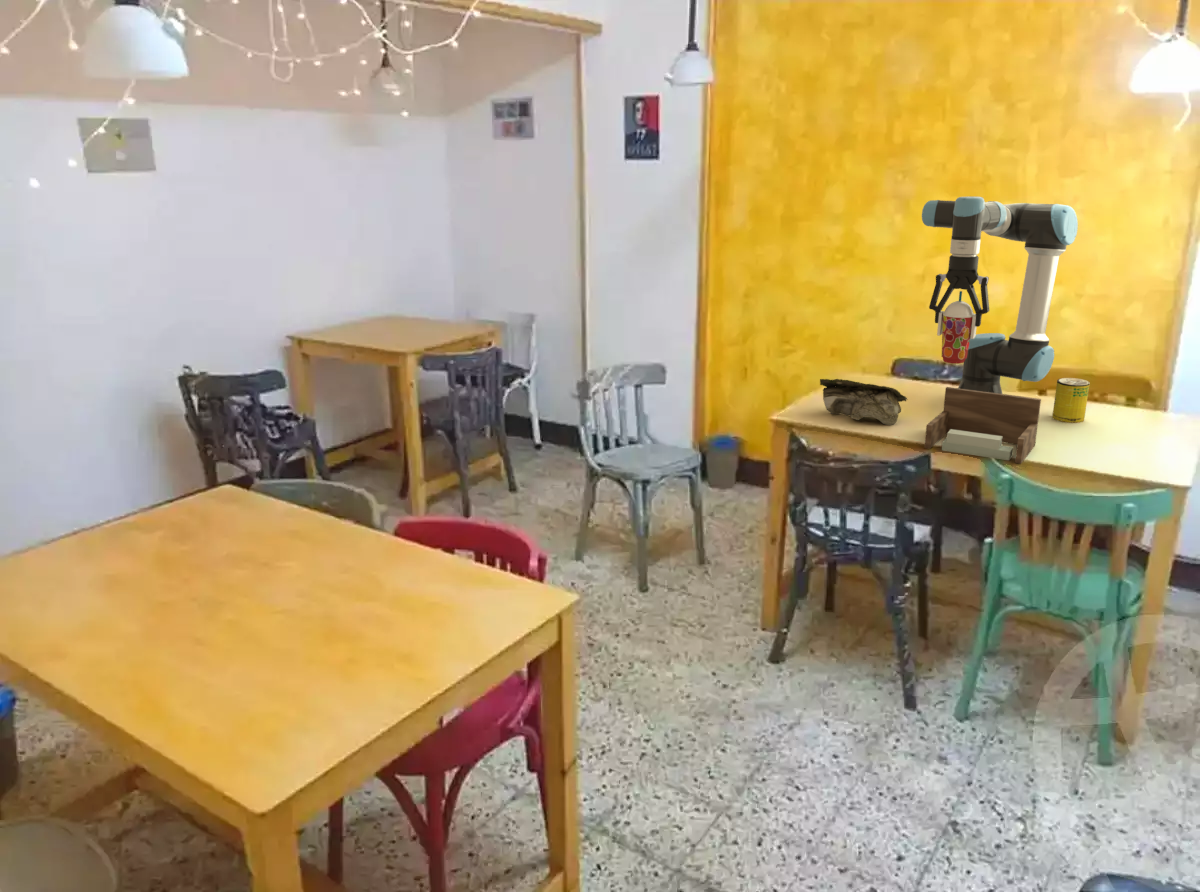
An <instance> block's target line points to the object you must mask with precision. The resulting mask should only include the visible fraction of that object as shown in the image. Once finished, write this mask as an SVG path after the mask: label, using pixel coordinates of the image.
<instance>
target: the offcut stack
mask: <svg viewBox="0 0 1200 892" xmlns="http://www.w3.org/2000/svg"><path fill="white" fill-rule="evenodd" d="M1002 438H1003V436H997V435H989V434H982V433H975V432H968V431H961V430H953V429H950V430H949V432H948V433H947V434H946V438H945V439H944V440H943V441H942V445H941V451H943V452H949V453H957V454H963V455H971V456H978V457H984V458H989V459H990V458H992V459H998V460H1005V461H1010V460H1011V458H1012V457H1013V453H1014V451H1013V450H1014V446H1007V445H1003V442H1002Z"/></svg>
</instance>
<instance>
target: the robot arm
mask: <svg viewBox="0 0 1200 892" xmlns="http://www.w3.org/2000/svg"><path fill="white" fill-rule="evenodd" d="M921 221H922V223H923V224H924V225H925V226H926V227H932V228H942V229H943V228H944V229H945V228H946V229H952V231H951V239H950V249H949V253H950V254H951V255H950V256H948V257H949V259H948V270H947V272H946V273H943V274H942V273H938V274H937V275H935V286H934V289H933V293H932V296H931V300H930V303H929V306H928V308H929V310H933V311H934V313H935V314H934V316H935V317H934V323H935V324H937V332H936V333H937V334H936V335H937V336H939V337H941V336H942V329H943V312H945V310H944V311H943V308H944V307H945V306H946V303H947V302H948V300H949V299H950V297H951V295H952V293H953V291H954V290H959V289H961V290H966V292H967V294H968V296H969V299H970V302H971V304H972V307H973V309H974V310H973V311H974V312H975V313H974V315H973V318H972V328H971V336H970V342H969V348H968V354H967V358H966V359H965V361H964V362H963V363H962V364H963V366H962V376H961V381H960V383H959V384H958V387H957V388H960V389H968V390H975V391H983V392H991V393H999V394H1003V391H1002V386H1001V377H1004V378H1008V379H1016V380H1019V381H1020V380H1021V381H1022V382H1026V381H1027V382H1034V383H1037V382H1040V381H1042V380H1043V379H1044V378H1045V377H1046V376H1047V375H1048V374H1049V372H1050V370H1051V368H1052V367H1053V366H1052V365H1053V363H1054V359H1055V349H1054V348H1053V347H1052V346H1051V345H1050V344H1049V343H1050V339H1049V337H1048V336H1047V335H1046V331H1047V324H1048V320H1049V313H1050V308H1051V305H1052V304H1051V303H1052V299H1053V298H1052V297H1053V293H1054V288H1055V287H1054V286H1055V281H1056V275H1057V270H1058V264H1059V258H1060V256H1061V255H1063V254H1064V253H1065V252H1066V250H1067V246H1070V245H1071V244H1073V243H1074V242H1075V239H1076V238H1077V234H1078V226H1079V225H1078V222H1079V221H1078V217H1077V213H1076V211H1075V209H1074V208H1073V207H1071V205H1067V204H1066V205H1065V204H1059V203H1055V204H1054V203H1027V202H1021V203H1020V202H1018V203H1007V204H1003V203H1001V202H999V201H995V200H993V201H992V200H989V201H985V199H984V197H981V196H959V197H957V198H956V199H955V200H944V199H943V200H942V199H935V200H934V199H933V200H928V201H926V203H925V204H924V206H923V208H922V211H921ZM982 232H984V233H985V234H987V235H988V236H992V237H998V238H1001V239H1005V240H1009V241H1015V242H1023V243H1024V249H1025V251H1026V252H1027V253H1028V257H1027V262H1026V268H1025V272H1024V273H1025V274H1024V279H1023V284H1022V285H1023V286H1022V291H1021V295H1020V296H1021V297H1020V303H1019V308H1018V314H1017V320H1016V326H1015V330H1014V332H1012V333H1011V334H1010V335H1009V336H1008V340H1007V339H1006V335H1005V334H1004V333H998V332H995V333H994V332H993V333H992V332H991V333H990V332H989V333H977V327H980V326H981V325H982V316H983V315H984V314H987V313H989V312H990V300H989V291H988V284H989V280H990V278H989V276H982V275H979V273H978V267H979V259H980V257H979V256H978V255H979V254H980V251H981V250H980V249H981V248H980V247H981V239H982V237H981V236H982ZM945 280H947V281H948V283H949V284H948V286H947V288H946V291H945V293H944V294H943V296H942V297H941V299H940V301H939V303H938V300H939V297H940V292H941V290H942V287H943V283H944V282H945ZM976 281H978V284H979V285H980V295H981V303H980V301H979V299H978V296H977V294H976V291H975V290H976V289H975V286H974V284H975V283H976ZM937 304H938V305H937Z"/></svg>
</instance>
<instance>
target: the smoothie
mask: <svg viewBox="0 0 1200 892" xmlns="http://www.w3.org/2000/svg"><path fill="white" fill-rule="evenodd" d="M962 296H963V290H960V291H959V295H958V300H956V301H953V302H951V303H949V304H948V305H947V306H946V307H945V310H944V312H943V329H942V334H941V357H942V361H943V362H944V363H947V364H956V365H957V364H959V365H961V364H964V361H965V359H966V358H967V354H968V348H969V342H970V336H971V328H972V318H973V315H974V314H975V313H974V310H973V309H972V306H971V305H970V304H969V303H967V302H965V301H963V300H962V299H963V298H962Z"/></svg>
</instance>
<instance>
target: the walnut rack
mask: <svg viewBox="0 0 1200 892" xmlns="http://www.w3.org/2000/svg"><path fill="white" fill-rule="evenodd" d="M1041 403H1042V398H1038V397H1037V398H1036V397H1029V396H1021V395H1014V394H1006V393H1002V394H999V393H991V392H983V391H975V390H968V389H960V388H958V387H951V386H946V387H945V391H944V401H943V411H941V412H940V413H939V414H938V415H937V416H935V417H934V418H933V419H932V420H930V421H928V423H927V424H926V427H925V440H924V449H928V450H929V449H930V450H931V449H932V447H933V446H934V445H936V444H937V443H938V442H939V441H940V440H941V439H943V438H944V437H945V436H947V433H948V432H949V430H950V429H953V430H961V431H968V432H975V433H982V434H989V435H997V436H1003V438H1002V444H1003V443H1004V444H1010V445H1016V452H1015V460H1014V464H1018V465H1019V464H1020V465H1021V464H1022V463H1023V462H1024V461H1025V459H1026V458H1027V457H1028V455H1029V454H1030V453H1031V452H1032V450H1033V449H1034V448H1035V447H1036V442H1037V435H1038V427H1039V418H1040V410H1041Z"/></svg>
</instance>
